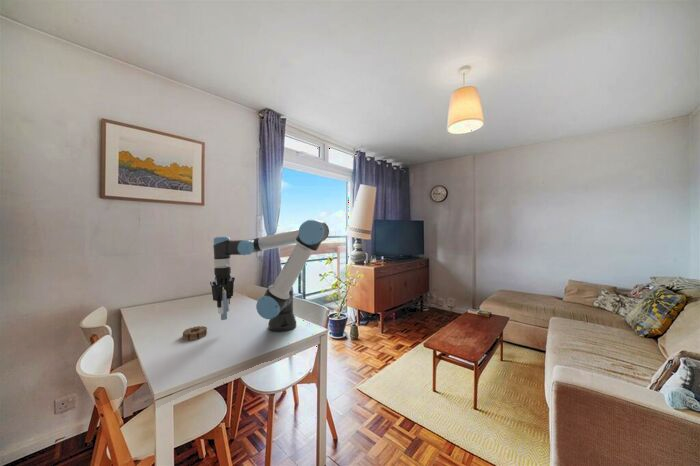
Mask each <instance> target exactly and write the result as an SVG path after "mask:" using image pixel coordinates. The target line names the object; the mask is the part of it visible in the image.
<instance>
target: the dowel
mask: <svg viewBox="0 0 700 466" xmlns="http://www.w3.org/2000/svg"><path fill="white" fill-rule="evenodd" d="M222 301H223V310H224V313H223V314H220V320H221V321H226V320H227V319H228V312H227V298H226V290H225V289H224V288H223V292H222Z"/></svg>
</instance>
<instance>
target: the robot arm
mask: <svg viewBox="0 0 700 466" xmlns="http://www.w3.org/2000/svg"><path fill="white" fill-rule="evenodd" d="M329 235H330V228H329V226H328V224H327V222H325V221H323V220H318V219H307V220H305V221H303V222H302V223H301V224H300V226H299V227H298V228H297V229H293V230H288V231H283V232H279V233H275V234H274V233H273V234H270V235H266V236H261V237H256V238H251V239H237V240H235V239H234V240H232V239H231V238H230V236H216V237H214V238H213V245H212V246H213V266H214V268H213V269H214V270H213V271H214V273H213V274H214V275H215V277H214V280H213V281H210V282H209V285H210V286H211V294H212V301H214V302H216V306H217V308H218V310H217V311H218V312H217V313H218V314H220V315H221V314H223V313H224V310H223V301H222V292H223V289H225V290H226V298H227V313H229V312H230V304H231V302H230V301H231V299H232V297H233V296H234V287H235V286H234V283H235V280H236V278H235V277H234V276H233V277H232V276H231V272H232V269H231V268H232V267H231V262H232V261H231V256H238V255H239V256H249V255H252V254H253V253H258V252H263V251H268V250H271V249H277V248H282V247H286V246H290V245H295V244H296V245H295V246H294V248H293V250H292V251H291V253H290V254H289V257H288V258H287V260H286V262H285V264H284V265H283V267H282V268H281V270H280V272H279V274H278V276H277V278H276V279H275V281H274V283H273V284H271V285H269V286H268V287H267V289H266V291H265V292H264V294H263V295H262V296H260V297H259V299H258V300H257V301H256V305H255V306H256V308H255V309H256V311H257V314H258V315H259V316H260V317H261V318H263V319H265V320H269V321H268V325H267V326H268V330H269V331H271V332H276V333H278V332H280V333H281V332H283V333H284V332H288V331H290V330H293V329H295V328H296V327H297V319H296V317H295V314H294V288H293V286H294V284H295V283H296V281H297V279H298V277H299V276H300V274H301V272H302V270H303V269H304V267H305V265H306V264H307V262H308V260H309V258H310V256H311V255H312V253H314V252H317V250H318V249H319V247H320V246H321V244H322V243H323V242H325V240H327V239H328V238H329Z"/></svg>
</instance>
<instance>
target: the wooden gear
mask: <svg viewBox="0 0 700 466" xmlns="http://www.w3.org/2000/svg"><path fill="white" fill-rule="evenodd" d="M207 334H208V327H206V326H203V325H202V326H201V325H199V326H193V327H189V328H187V329H185V330H183V332H182V340H184V341H195V340H201V339H202V338H205V337H206V336H207Z"/></svg>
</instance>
